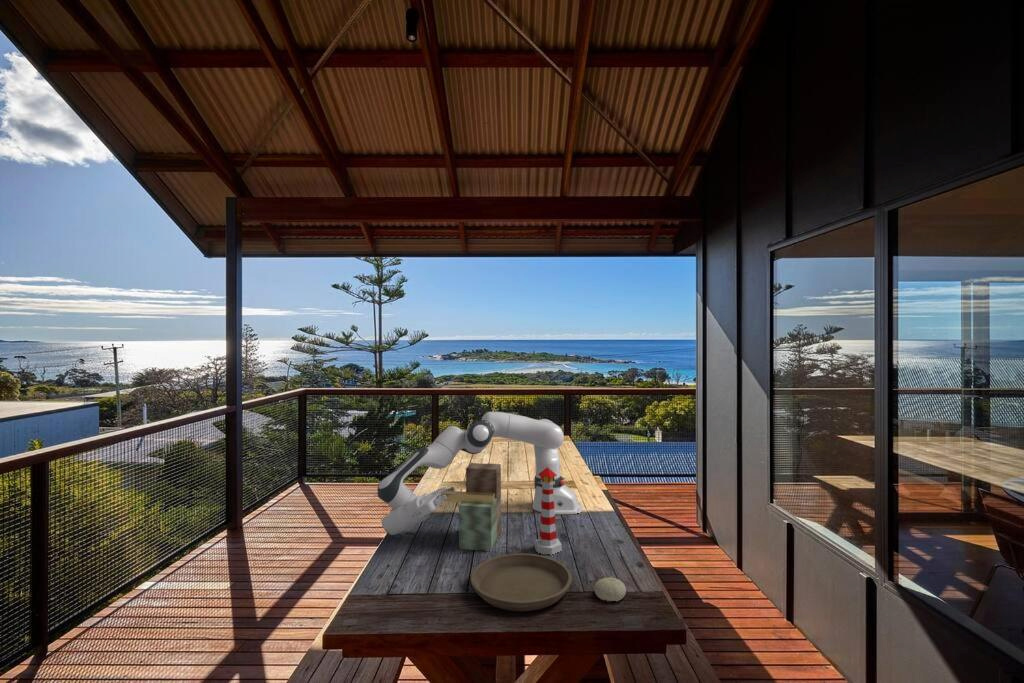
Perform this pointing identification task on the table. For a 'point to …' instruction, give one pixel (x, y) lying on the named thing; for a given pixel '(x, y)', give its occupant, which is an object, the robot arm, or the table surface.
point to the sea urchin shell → (610, 589)
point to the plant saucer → (521, 581)
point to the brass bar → (469, 497)
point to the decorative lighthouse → (547, 517)
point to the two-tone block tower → (481, 508)
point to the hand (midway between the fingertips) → (450, 492)
